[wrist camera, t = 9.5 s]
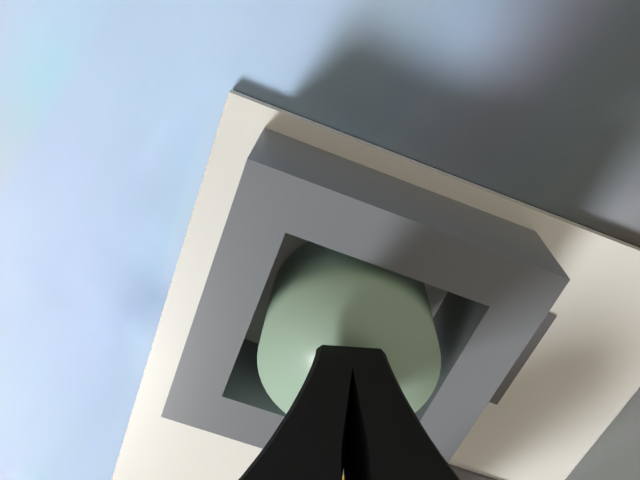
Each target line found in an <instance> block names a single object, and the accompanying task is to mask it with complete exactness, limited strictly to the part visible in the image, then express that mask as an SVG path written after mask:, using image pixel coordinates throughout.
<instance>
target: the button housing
mask: <svg viewBox="0 0 640 480" xmlns="http://www.w3.org/2000/svg"><path fill="white" fill-rule="evenodd" d="M285 233H288V234H291V235H293V236H296V237H299V238H302V239H304V240H307V241H310V242H313V243H315V244H318V245H321V246H324V247H326V248H329V249H332V250H335V251H338V252H340V253H343V254H346V255H349V256H351V257H354V258H357V259H360V260H362V261H365V262H368V263H371V264H373V265H376V266H379V267H382V268H385V269H387V270H390V271H393V272H396V273H398V274H401V275H404V276H407V277H409V278H412V279H415V280H418V281H420V282H423V283H426V284H429V285H431V286H434V287H437V288H440V289H443V290H445V291H448V292H447V294H446V296H445V298H444V300H443V301H442V303H441V305H440V307H439V308H438V310H437V312H436V314H435V316H434V317H433V322H434V326H435V330H436V334H437V339H438V343H439V347H440V353H441V369H440V376H439V379H438V382H437V385H436V387H435V389H434V391H433V393H432V394H431V396H430V397H429V399H428V400H427V402H426V403H425V404H424V405H423V406H422V407H421V408H420V409H419V410H418V411H417V412H415V414H416V416H417V418H418V419H419V421H420V423H421V425H422V426H423V428H424V429H425V431H426V432H427V434H428V436H429V437H430V439H431V440H432V442H433V443H434V444H435V446H436V447H437V449H438V450H439V452H440V453H441V455H442V456H443V458H444V459H445V460H446V462H447V463H448V462H449V461H450V459H451V458H452V456H453V455H454V453H455V452H456V450H457V449H458V447H459V446H460V444H461V443H462V441H463V440H464V438H465V437H466V435H467V434H468V432H469V431H470V429H471V428H472V426H473V425H474V423H475V422H476V420H477V419H478V417H479V416H480V414H481V413H482V411H483V410H484V408H485V407H486V405H487V404H488V402H489V401H490V399H491V398H492V396H493V395H494V393H495V392H496V390H497V389H498V387H499V386H500V384H501V383H502V381H503V380H504V378H505V377H506V375H507V374H508V372H509V371H510V369H511V368H512V366H513V365H514V363H515V362H516V360H517V359H518V357H519V356H520V354H521V353H522V351H523V350H524V348H525V347H526V345H527V344H528V342H529V341H530V339H531V338H532V336H533V335H534V333H535V332H536V330H537V329H538V327H539V326H540V324H541V323H542V321H543V320H544V318H545V317H546V315H547V314H548V312H549V311H550V309H551V308H552V306H553V305H554V303H555V302H556V300H557V299H558V297H559V296H560V294H561V293H562V291H563V290H564V288H565V287H566V285H567V284H568V282H569V281H570V278H569V277H568V276H567V274H566V273H565V271H564V270H563V269H562V267H561V266H560V264H559V263H558V262H557V260H556V259H555V257H554V256H553V255H552V253H551V252H550V250H549V249H548V248H547V246H546V245H545V243H544V242H543V241H542V239H541V238H540V236H539V235H538V234H537V232H536V231H534V230H531V229H529V228H526V227H524V226H521V225H518V224H516V223H513V222H510V221H508V220H505V219H503V218H500V217H497V216H495V215H492V214H490V213H487V212H484V211H482V210H479V209H476V208H474V207H471V206H469V205H466V204H463V203H461V202H458V201H456V200H453V199H450V198H448V197H445V196H442V195H440V194H437V193H435V192H432V191H429V190H427V189H424V188H422V187H419V186H416V185H414V184H411V183H408V182H406V181H403V180H401V179H398V178H395V177H393V176H390V175H388V174H385V173H382V172H380V171H377V170H374V169H372V168H369V167H367V166H364V165H361V164H359V163H356V162H354V161H351V160H348V159H346V158H343V157H340V156H338V155H335V154H333V153H330V152H327V151H325V150H322V149H320V148H317V147H314V146H312V145H309V144H306V143H304V142H301V141H299V140H296V139H293V138H291V137H288V136H285V135H283V134H280V133H278V132H275V131H272V130H270V129H267V128H265V127H264V129H263V131H262V133H261V134H260V136H259V138H258V140H257V142H256V143H255V145H254V147H253V149H252V151H251V153H250V154H249V156H248V158H247V161H246V164H245V167H244V170H243V173H242V176H241V179H240V182H239V185H238V188H237V191H236V194H235V197H234V200H233V203H232V206H231V209H230V212H229V215H228V218H227V221H226V224H225V227H224V229H223V232H222V235H221V238H220V241H219V244H218V247H217V250H216V253H215V256H214V259H213V262H212V265H211V268H210V271H209V274H208V277H207V280H206V283H205V286H204V289H203V292H202V295H201V298H200V301H199V304H198V307H197V310H196V313H195V316H194V319H193V322H192V325H191V328H190V331H189V334H188V337H187V340H186V343H185V346H184V349H183V352H182V355H181V358H180V361H179V364H178V367H177V370H176V373H175V376H174V379H173V382H172V385H171V388H170V391H169V394H168V397H167V400H166V403H165V406H164V409H163V412H162V415H161V417H163V418H166V419H170V420H173V421H176V422H179V423H182V424H185V425H189V426H192V427H195V428H198V429H201V430H205V431H208V432H211V433H214V434H217V435H220V436H224V437H227V438H230V439H233V440H236V441H239V442H243V443H246V444H249V445H252V446H255V447H259V448H262V449H263V448H264V447H265V445H266V444H267V443H268V441H269V440H270V438H271V437H272V435H273V434H274V432H275V431H276V429H277V428H278V426H279V425H280V423H281V422H282V420H283V419H284V417H285V415H286V413H285V412H283V411H282V410H281V409H280V408H279V407H278V406H277V405H276V404H275V403H274V402H273V401H272V399H271V398H270V396H269V395H268V394H267V392H266V390H265V388H264V386H263V384H262V382H261V379H260V376H259V372H258V366H257V352H258V346H259V343H256V342H253V341H250V340H247V339H244V338H245V336H246V333H247V330H248V328H249V325H250V323H251V320H252V318H253V315H254V312H255V310H256V307H257V305H258V302H259V300H260V297H261V294H262V292H263V289H264V287H265V284H266V282H267V279H268V276H269V274H270V271H271V269H272V266H273V264H274V261H275V259H276V256H277V253H278V251H279V248H280V246H281V243H282V241H283V238H284V235H285ZM343 474H344V469H343Z"/></svg>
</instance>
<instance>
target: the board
mask: <svg viewBox="0 0 640 480" xmlns="http://www.w3.org/2000/svg"><path fill="white" fill-rule="evenodd" d="M264 127H265V128H267V129H270V130H272V131H275V132H278V133H280V134H283V135H285V136H288V137H291V138H293V139H296V140H299V141H301V142H304V143H306V144H309V145H312V146H314V147H317V148H320V149H322V150H325V151H327V152H330V153H333V154H335V155H338V156H340V157H343V158H346V159H348V160H351V161H354V162H356V163H359V164H361V165H364V166H367V167H369V168H372V169H374V170H377V171H380V172H382V173H385V174H388V175H390V176H393V177H395V178H398V179H401V180H403V181H406V182H408V183H411V184H414V185H416V186H419V187H422V188H424V189H427V190H429V191H432V192H435V193H437V194H440V195H442V196H445V197H448V198H450V199H453V200H456V201H458V202H461V203H463V204H466V205H469V206H471V207H474V208H476V209H479V210H482V211H484V212H487V213H490V214H492V215H495V216H497V217H500V218H503V219H505V220H508V221H510V222H513V223H516V224H518V225H521V226H524V227H526V228H529V229H531V230H534V231H536V232H537V234H538V235H539V236H540V238H541V239H542V241H543V242H544V243H545V245H546V246H547V248H548V249H549V250H550V252H551V253H552V255H553V256H554V257H555V259H556V260H557V262H558V263H559V264H560V266H561V267H562V269H563V270H564V271H565V273H566V274H567V276H568V277H569V278H570V281H569V282H568V284H567V285H566V287H565V288H564V290H563V291H562V293H561V294H560V296H559V297H558V299H557V300H556V302H555V303H554V305H553V306H552V308H551V309H550V311H549V312H548V314H547V315H546V317H545V318H544V320H543V321H542V323H541V324H540V326H539V327H538V329H537V330H536V332H535V333H534V335H533V336H532V338H531V339H530V341H529V342H528V344H527V345H526V347H525V348H524V350H523V351H522V353H521V354H520V356H519V357H518V359H517V360H516V362H515V363H514V365H513V366H512V368H511V369H510V371H509V372H508V374H507V375H506V377H505V378H504V380H503V381H502V383H501V384H500V386H499V387H498V389H497V390H496V392H495V393H494V395H493V396H492V398H491V399H490V401H489V402H488V404H487V405H486V407H485V408H484V410H483V411H482V413H481V414H480V416H479V417H478V419H477V420H476V422H475V423H474V425H473V426H472V428H471V429H470V431H469V432H468V434H467V435H466V437H465V438H464V440H463V441H462V443H461V444H460V446H459V447H458V449H457V450H456V452H455V453H454V455H453V456H452V458H451V459H450V461H449V462H448V464H449V466H450V467H451V469H452V470H453V471H454V472H455V474H456V475H457V476H458V478H459V479H460V480H565V479H566V477H567V476H568V475H569V474H570V472H571V471H572V470H573V469H574V467H575V466H576V465H577V464H578V463H579V461H580V460H581V459H582V458H583V456H584V455H585V454H586V453H587V451H588V450H589V449H590V448H591V446H592V445H593V444H594V443H595V442H596V440H597V439H598V438H599V437H600V435H601V434H602V433H603V432H604V430H605V429H606V428H607V427H608V425H609V424H610V423H611V422H612V421H613V419H614V418H615V417H616V416H617V414H618V413H619V412H620V411H621V409H622V408H623V407H624V406H625V404H626V403H627V402H628V401H629V400H630V398H631V397H632V396H633V395H634V393H635V392H636V391H637V390H638V388H639V387H640V248H639V247H637V246H634V245H631V244H629V243H626V242H624V241H621V240H619V239H616V238H613V237H611V236H608V235H606V234H603V233H601V232H598V231H595V230H593V229H590V228H588V227H585V226H582V225H580V224H577V223H575V222H572V221H570V220H567V219H564V218H562V217H559V216H557V215H554V214H551V213H549V212H546V211H544V210H541V209H539V208H536V207H533V206H531V205H528V204H526V203H523V202H521V201H518V200H515V199H513V198H510V197H508V196H505V195H502V194H500V193H497V192H495V191H492V190H490V189H487V188H484V187H482V186H479V185H477V184H474V183H471V182H469V181H466V180H464V179H461V178H459V177H456V176H453V175H451V174H448V173H446V172H443V171H441V170H438V169H435V168H433V167H430V166H428V165H425V164H422V163H420V162H417V161H415V160H412V159H410V158H407V157H404V156H402V155H399V154H397V153H394V152H392V151H389V150H386V149H384V148H381V147H379V146H376V145H373V144H371V143H368V142H366V141H363V140H361V139H358V138H355V137H353V136H350V135H348V134H345V133H342V132H340V131H337V130H335V129H332V128H330V127H327V126H324V125H322V124H319V123H317V122H314V121H312V120H309V119H306V118H304V117H301V116H299V115H296V114H293V113H291V112H288V111H286V110H283V109H281V108H278V107H275V106H273V105H270V104H268V103H265V102H262V101H260V100H257V99H255V98H252V97H250V96H247V95H244V94H242V93H239V92H237V91H234V90H232V89H231V90H230V91H229V93H228V97H227V100H226V103H225V106H224V110H223V113H222V116H221V120H220V123H219V126H218V130H217V133H216V136H215V140H214V143H213V146H212V149H211V153H210V156H209V159H208V163H207V166H206V169H205V173H204V176H203V179H202V182H201V186H200V189H199V192H198V196H197V199H196V202H195V206H194V209H193V212H192V216H191V219H190V222H189V225H188V229H187V232H186V235H185V239H184V242H183V245H182V249H181V252H180V255H179V258H178V262H177V265H176V268H175V272H174V275H173V278H172V282H171V285H170V288H169V292H168V295H167V298H166V301H165V305H164V308H163V311H162V315H161V318H160V321H159V325H158V328H157V331H156V334H155V338H154V341H153V344H152V348H151V351H150V354H149V358H148V361H147V364H146V368H145V371H144V374H143V377H142V381H141V384H140V387H139V391H138V394H137V397H136V401H135V404H134V407H133V410H132V414H131V417H130V420H129V424H128V427H127V430H126V434H125V437H124V440H123V444H122V447H121V450H120V453H119V457H118V460H117V463H116V467H115V470H114V473H113V477H112V480H238V479H239V478H240V477H241V476H242V475H243V474H244V472H245V471H246V470H247V469H248V467H249V466H250V465H251V464H252V462H253V461H254V460H255V459H256V457H257V456H258V455H259V453H260V452H261V451H262V448H259V447H255V446H252V445H249V444H246V443H243V442H239V441H236V440H233V439H230V438H227V437H224V436H220V435H217V434H214V433H211V432H208V431H205V430H201V429H198V428H195V427H192V426H189V425H185V424H182V423H179V422H176V421H173V420H170V419H166V418H163V417H161V415H162V412H163V409H164V406H165V403H166V400H167V397H168V394H169V391H170V388H171V385H172V382H173V379H174V376H175V373H176V370H177V367H178V364H179V361H180V358H181V355H182V352H183V349H184V346H185V343H186V340H187V337H188V334H189V331H190V328H191V325H192V322H193V319H194V316H195V313H196V310H197V307H198V304H199V301H200V298H201V295H202V292H203V289H204V286H205V283H206V280H207V277H208V274H209V271H210V268H211V265H212V262H213V259H214V256H215V253H216V250H217V247H218V244H219V241H220V238H221V235H222V232H223V229H224V227H225V224H226V221H227V218H228V215H229V212H230V209H231V206H232V203H233V200H234V197H235V194H236V191H237V188H238V185H239V182H240V179H241V176H242V173H243V170H244V167H245V164H246V161H247V158H248V156H249V154H250V153H251V151H252V149H253V147H254V145H255V143H256V142H257V140H258V138H259V136H260V134H261V133H262V131H263V129H264ZM307 242H309V241H307V240H304V239H302V238H299V237H296V236H293V235H291V234H288V233H285V235H284V238H283V241H282V243H281V246H280V248H279V251H278V253H277V256H276V259H275V261H274V264H273V266H272V269H271V271H270V274H269V276H268V279H267V282H266V284H265V287H264V289H263V292H262V294H261V297H260V300H259V302H258V305H257V307H256V310H255V312H254V315H253V318H252V320H251V323H250V325H249V328H248V330H247V333H246V336H245V338H244V339H247V340H250V341H253V342H256V343H259V341H260V337H261V333H262V329H263V325H264V321H265V317H266V313H267V309H268V305H269V301H270V296H271V292H272V288H273V284H274V281H275V278H276V275H277V273H278V271H279V269H280V268H281V266H282V265H283V263H284V262H285V260H286V259H287V258H288V257H289V256H290V255H291V254H292V253H293V252H294V251H296V250H297V249H298V248H299V247H301V246H303V245H304V244H306V243H307ZM424 284H425V288H426V292H427V297H428V301H429V305H430V309H431V313H432V318H433V317H434V316H435V314H436V312H437V310H438V308H439V307H440V305H441V303H442V301H443V300H444V298H445V296H446V294H447V292H448V291H445V290H443V289H440V288H437V287H434V286H431V285H429V284H426V283H424Z"/></svg>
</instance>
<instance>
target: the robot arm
mask: <svg viewBox="0 0 640 480" xmlns="http://www.w3.org/2000/svg"><path fill="white" fill-rule="evenodd" d="M343 469H344V480H460V479H459V478H458V476H457V475H456V474H455V472H454V471H453V470H452V469H451V467H450V466H449V464H448V463H447V462H446V460H445V459H444V458H443V456H442V455H441V453H440V452H439V450H438V449H437V447H436V446H435V444H434V443H433V442H432V440H431V439H430V437H429V436H428V434H427V432H426V431H425V429H424V428H423V426H422V425H421V423H420V421H419V419H418V418H417V416H416V414H415V413H414V411H413V409H412V408H411V406H410V404H409V402H408V401H407V399H406V397H405V395H404V393H403V391H402V389H401V387H400V386H399V384H398V382H397V380H396V377H395V375H394V373H393V371H392V369H391V367H390V364H389V362H388V359H387V356H386V354H385V353H384V352H383V350H382V349H378V348H363V347H349V346H334V345H321V346H320V347H318V348H317V349H316V353H315V357H314V360H313V363H312V366H311V368H310V370H309V373H308V375H307V377H306V379H305V381H304V383H303V385H302V387H301V389H300V391H299V393H298V395H297V396H296V398H295V400H294V402H293V404H292V405H291V407H290V409H289V411H288V412H287V414H286V415H285V417H284V419H283V420H282V422H281V423H280V425H279V426H278V428H277V429H276V431H275V432H274V434H273V435H272V437H271V438H270V440H269V441H268V443H267V444H266V445H265V447H264V448H263V449H262V451H261V452H260V453H259V455H258V456H257V457H256V459H255V460H254V461H253V462H252V464H251V465H250V466H249V467H248V469H247V470H246V471H245V472H244V474H243V475H242V476H241V477H240V478H239V479H238V480H342V477H343Z"/></svg>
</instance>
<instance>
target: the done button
mask: <svg viewBox="0 0 640 480" xmlns="http://www.w3.org/2000/svg"><path fill="white" fill-rule="evenodd" d="M321 345H334V346H349V347H363V348H378V349H382V350H383V352H384V353H385V354H386V356H387V359H388V362H389V364H390V367H391V369H392V371H393V373H394V375H395V377H396V380H397V382H398V384H399V386H400V387H401V389H402V391H403V393H404V395H405V397H406V399H407V401H408V402H409V404H410V406H411V408H412V409H413V411H414V413H415V412H417V411H418V410H419V409H420V408H421V407H422V406H423V405H424V404H425V403H426V402H427V400H428V399H429V397H430V396H431V394H432V393H433V391H434V389H435V387H436V385H437V382H438V379H439V376H440V369H441V353H440V347H439V343H438V339H437V334H436V330H435V326H434V322H433V318H432V313H431V309H430V305H429V301H428V297H427V292H426V288H425V284H424V283H423V282H420V281H418V280H415V279H412V278H409V277H407V276H404V275H401V274H398V273H396V272H393V271H390V270H387V269H385V268H382V267H379V266H376V265H373V264H371V263H368V262H365V261H362V260H360V259H357V258H354V257H351V256H349V255H346V254H343V253H340V252H338V251H335V250H332V249H329V248H326V247H324V246H321V245H318V244H315V243H313V242H310V241H309V242H307V243H306V244H304V245H303V246H301V247H299V248H298V249H297V250H296V251H294V252H293V253H292V254H291V255H290V256H289V257H288V258H287V259H286V260H285V262H284V263H283V265H282V266H281V268H280V269H279V271H278V273H277V275H276V278H275V281H274V284H273V288H272V292H271V296H270V301H269V305H268V309H267V313H266V317H265V321H264V325H263V329H262V333H261V337H260V341H259V346H258V352H257V366H258V372H259V376H260V379H261V382H262V384H263V386H264V388H265V390H266V392H267V394H268V395H269V396H270V398H271V399H272V401H273V402H274V403H275V404H276V405H277V406H278V407H279V408H280V409H281V410H282V411H283V412H285V413H286V414H287V412H288V411H289V409H290V407H291V405H292V404H293V402H294V400H295V398H296V396H297V395H298V393H299V391H300V389H301V387H302V385H303V383H304V381H305V379H306V377H307V375H308V373H309V370H310V368H311V366H312V363H313V360H314V357H315V353H316V349H317V348H318V347H320V346H321Z"/></svg>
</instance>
